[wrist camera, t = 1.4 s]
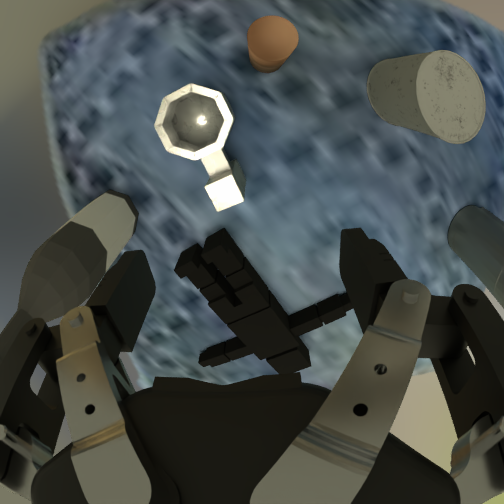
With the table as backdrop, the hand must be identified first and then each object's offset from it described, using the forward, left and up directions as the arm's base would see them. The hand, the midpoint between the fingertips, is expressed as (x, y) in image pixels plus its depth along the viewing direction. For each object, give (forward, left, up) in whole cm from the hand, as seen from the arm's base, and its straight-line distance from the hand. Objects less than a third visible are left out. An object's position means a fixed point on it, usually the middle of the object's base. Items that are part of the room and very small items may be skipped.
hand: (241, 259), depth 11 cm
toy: (+10, +24, -26) cm, 37 cm away
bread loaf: (-6, -10, -26) cm, 28 cm away
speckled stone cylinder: (-21, -1, -26) cm, 34 cm away
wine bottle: (+22, 0, -26) cm, 34 cm away
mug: (+4, -3, -26) cm, 26 cm away
